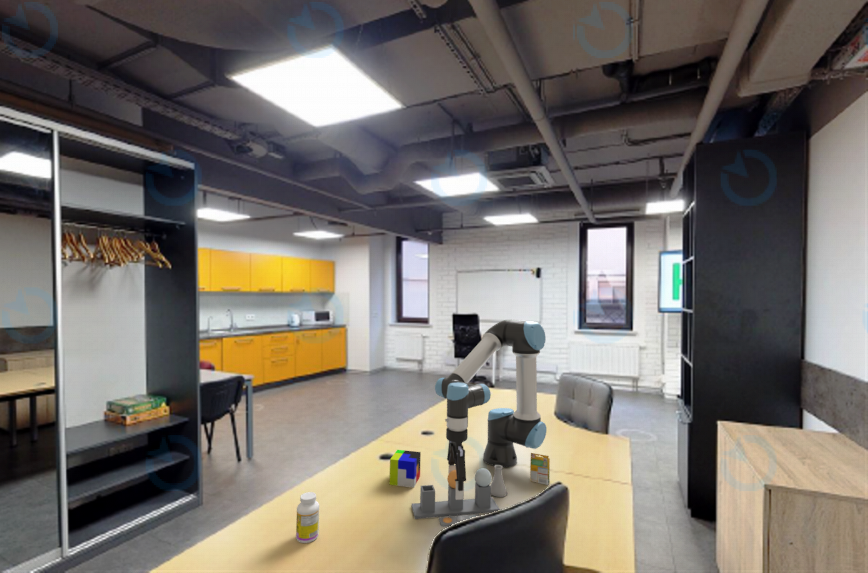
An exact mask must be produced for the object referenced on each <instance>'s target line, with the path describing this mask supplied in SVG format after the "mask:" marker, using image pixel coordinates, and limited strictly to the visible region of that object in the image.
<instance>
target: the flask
mask: <svg viewBox="0 0 868 573" xmlns="http://www.w3.org/2000/svg"><path fill="white" fill-rule="evenodd" d="M493 467H494V474H493V475H494V476H493V478H492V480H491V482H490V486H491V496H494V497H495V498H496V497H498V498H500V497H501V498H502V497H503V498H504V497H506V496H507V495H508V491H507V488H506V484H505V482H504V478H503V468H504V467H502V466H501V465H495V466H493Z"/></svg>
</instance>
